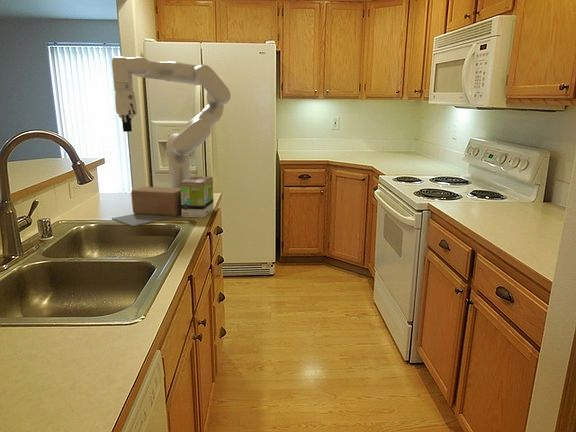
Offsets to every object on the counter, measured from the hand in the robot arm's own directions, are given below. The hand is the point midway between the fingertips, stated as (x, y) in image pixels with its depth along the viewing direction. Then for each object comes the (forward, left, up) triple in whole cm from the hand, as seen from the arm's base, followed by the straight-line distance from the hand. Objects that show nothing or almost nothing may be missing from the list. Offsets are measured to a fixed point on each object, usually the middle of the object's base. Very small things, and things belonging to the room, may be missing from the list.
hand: (127, 131), depth 190 cm
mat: (+8, +25, -33) cm, 42 cm away
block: (+6, +14, -28) cm, 31 cm away
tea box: (-10, +34, -33) cm, 49 cm away
